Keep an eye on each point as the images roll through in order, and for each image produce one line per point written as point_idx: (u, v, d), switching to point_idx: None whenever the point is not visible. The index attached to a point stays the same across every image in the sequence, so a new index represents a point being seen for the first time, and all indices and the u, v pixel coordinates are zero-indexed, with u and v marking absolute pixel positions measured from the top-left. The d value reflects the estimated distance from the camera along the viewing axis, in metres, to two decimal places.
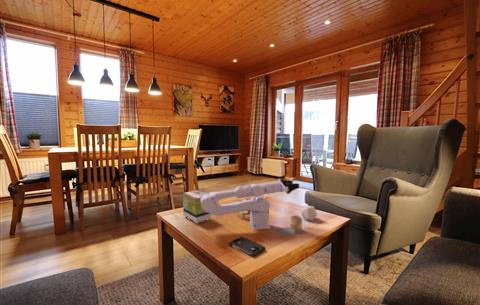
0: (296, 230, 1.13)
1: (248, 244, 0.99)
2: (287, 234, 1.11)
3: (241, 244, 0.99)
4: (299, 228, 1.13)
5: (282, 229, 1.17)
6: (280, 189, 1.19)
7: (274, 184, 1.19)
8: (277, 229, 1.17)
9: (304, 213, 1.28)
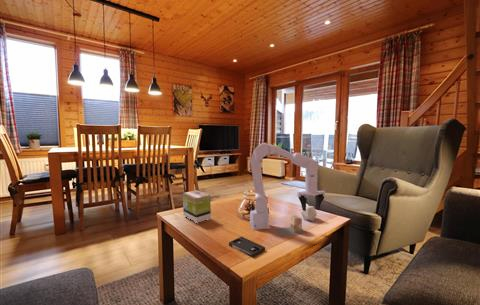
0: (296, 230, 1.13)
1: (248, 244, 0.99)
2: (287, 234, 1.11)
3: (241, 244, 0.99)
4: (299, 228, 1.13)
5: (282, 229, 1.17)
6: (305, 190, 1.15)
7: (309, 186, 1.13)
8: (277, 229, 1.17)
9: (304, 213, 1.28)
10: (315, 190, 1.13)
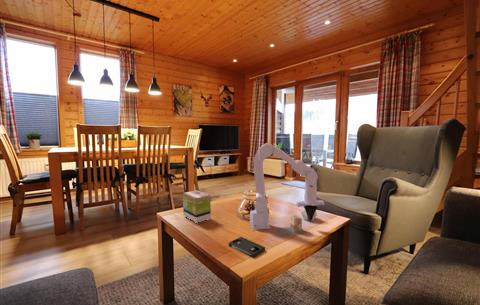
0: (296, 230, 1.13)
1: (248, 244, 0.99)
2: (287, 234, 1.11)
3: (241, 244, 0.99)
4: (299, 228, 1.13)
5: (282, 229, 1.17)
6: (304, 200, 1.16)
7: (309, 196, 1.13)
8: (277, 229, 1.17)
9: (304, 213, 1.28)
10: (314, 200, 1.13)
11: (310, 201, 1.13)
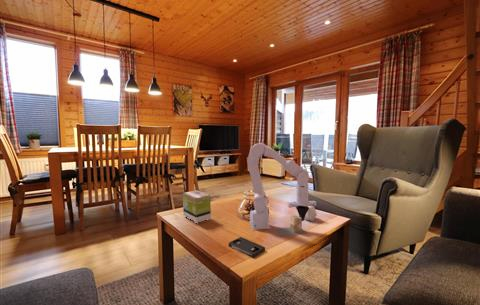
0: (296, 230, 1.13)
1: (248, 244, 0.99)
2: (287, 234, 1.11)
3: (241, 245, 0.99)
4: (299, 228, 1.13)
5: (282, 229, 1.17)
6: (296, 201, 1.15)
7: (300, 197, 1.12)
8: (277, 229, 1.17)
9: None
10: (306, 201, 1.12)
11: (302, 202, 1.12)
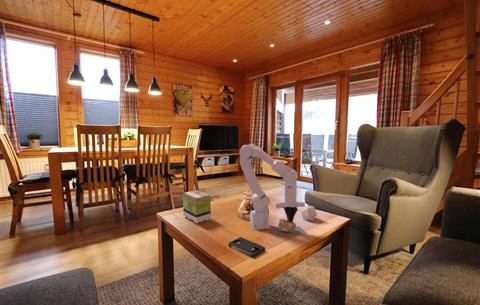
0: (292, 229, 1.13)
1: (247, 245, 0.99)
2: (287, 234, 1.11)
3: (240, 245, 0.99)
4: (292, 226, 1.12)
5: None
6: (284, 202, 1.14)
7: (288, 198, 1.11)
8: (277, 229, 1.17)
9: (304, 213, 1.28)
10: (294, 202, 1.11)
11: (290, 203, 1.11)
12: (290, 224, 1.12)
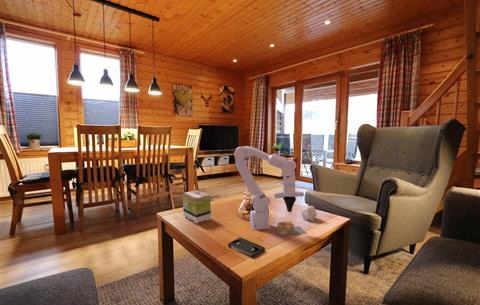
0: (291, 230, 1.12)
1: (247, 245, 0.99)
2: (287, 234, 1.11)
3: (240, 245, 0.98)
4: (290, 227, 1.12)
5: None
6: (283, 192, 1.14)
7: (287, 187, 1.11)
8: None
9: (304, 213, 1.28)
10: (293, 191, 1.11)
11: (288, 192, 1.11)
12: (288, 226, 1.12)
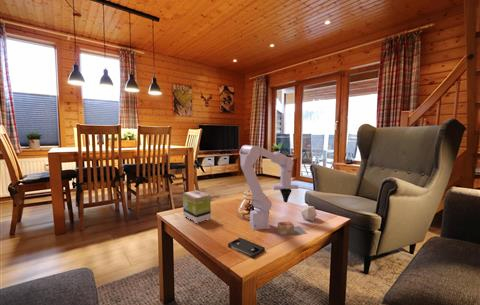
0: (291, 230, 1.12)
1: (247, 245, 0.98)
2: (287, 234, 1.11)
3: (240, 245, 0.98)
4: (290, 227, 1.12)
5: None
6: None
7: (283, 180, 1.26)
8: None
9: (304, 213, 1.28)
10: (289, 184, 1.26)
11: (285, 185, 1.26)
12: (288, 226, 1.12)
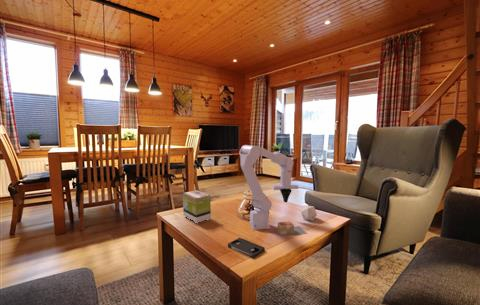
0: (291, 230, 1.12)
1: (247, 245, 0.98)
2: (287, 234, 1.11)
3: (240, 245, 0.98)
4: (290, 227, 1.12)
5: None
6: None
7: (283, 180, 1.26)
8: None
9: (304, 213, 1.28)
10: (289, 184, 1.26)
11: (285, 185, 1.26)
12: (288, 226, 1.12)
